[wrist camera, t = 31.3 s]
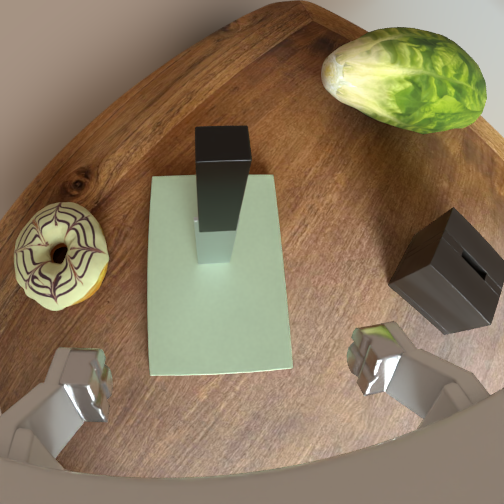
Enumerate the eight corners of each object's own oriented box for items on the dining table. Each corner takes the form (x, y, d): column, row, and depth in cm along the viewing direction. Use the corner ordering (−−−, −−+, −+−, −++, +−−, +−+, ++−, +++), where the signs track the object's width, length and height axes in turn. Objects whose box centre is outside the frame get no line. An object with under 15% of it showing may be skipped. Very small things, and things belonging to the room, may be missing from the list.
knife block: (444, 334, 32) (491, 325, 25) (387, 285, 33) (429, 264, 26) (465, 283, 35) (508, 265, 27) (414, 234, 36) (453, 206, 28)
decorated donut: (65, 333, 27) (48, 329, 24) (12, 262, 28) (-6, 252, 25) (132, 258, 31) (123, 245, 27) (72, 196, 32) (60, 180, 28)
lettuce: (292, 77, 42) (319, -10, 27) (423, 86, 47) (463, 28, 32) (329, 157, 38) (382, 65, 23) (464, 152, 43) (519, 97, 28)
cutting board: (290, 367, 29) (293, 368, 28) (151, 374, 27) (149, 375, 26) (271, 180, 35) (273, 174, 34) (153, 181, 34) (152, 176, 32)
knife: (230, 271, 30) (259, 160, 13) (198, 273, 30) (188, 162, 13) (228, 251, 31) (254, 125, 14) (197, 252, 30) (188, 126, 14)
